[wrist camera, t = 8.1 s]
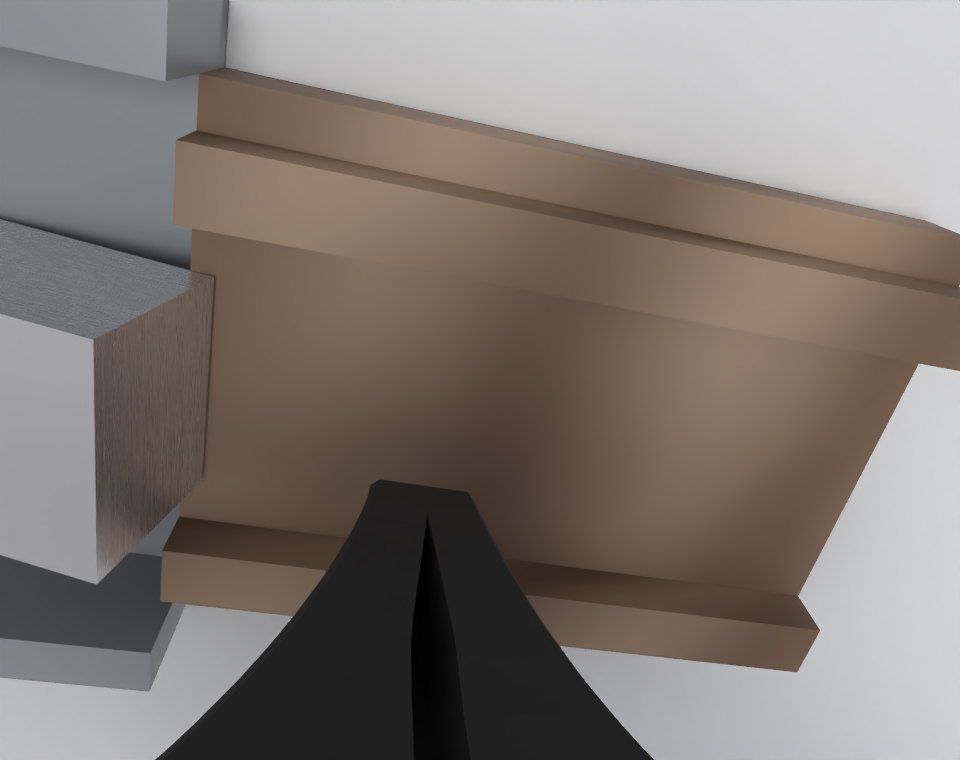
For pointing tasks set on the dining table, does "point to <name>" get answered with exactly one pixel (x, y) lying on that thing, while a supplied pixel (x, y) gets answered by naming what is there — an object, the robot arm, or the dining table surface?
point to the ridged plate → (538, 364)
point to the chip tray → (111, 224)
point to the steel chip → (95, 398)
